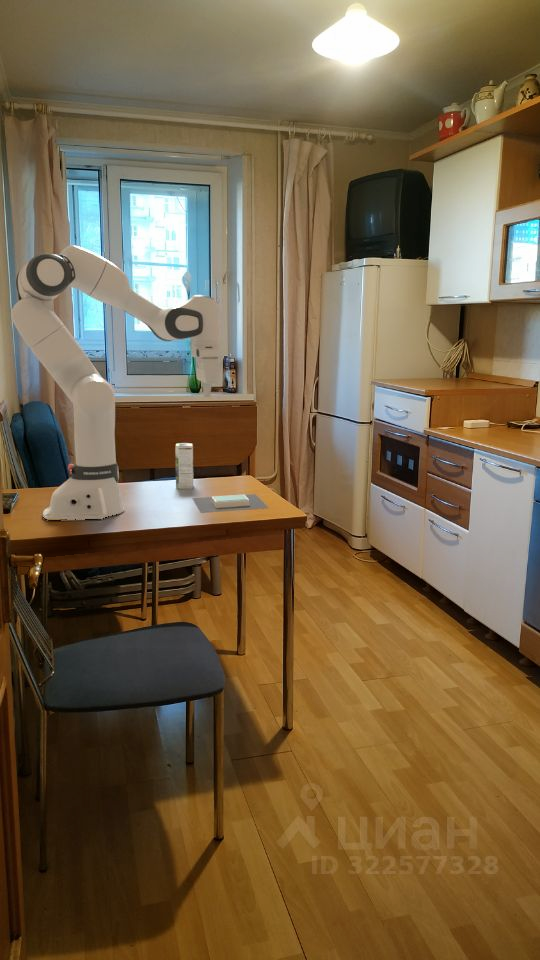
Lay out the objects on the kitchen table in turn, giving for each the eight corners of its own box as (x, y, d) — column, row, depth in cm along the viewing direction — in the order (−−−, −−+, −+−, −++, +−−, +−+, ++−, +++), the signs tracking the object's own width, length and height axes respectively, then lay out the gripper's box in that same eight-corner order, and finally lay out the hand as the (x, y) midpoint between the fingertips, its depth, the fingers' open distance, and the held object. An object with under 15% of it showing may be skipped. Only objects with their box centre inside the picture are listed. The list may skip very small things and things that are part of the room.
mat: (200, 513, 194) (200, 512, 194) (192, 499, 211) (192, 498, 211) (269, 509, 199) (269, 507, 199) (255, 495, 216) (255, 494, 216)
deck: (211, 502, 206) (215, 508, 199) (211, 496, 205) (215, 501, 198) (244, 500, 208) (249, 505, 201) (244, 494, 207) (249, 499, 201)
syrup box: (176, 485, 231) (174, 443, 228) (194, 485, 231) (192, 442, 228) (176, 489, 225) (174, 445, 222) (194, 488, 226) (192, 445, 223)
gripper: (190, 350, 216) (192, 394, 219) (200, 351, 197) (201, 400, 199) (210, 350, 217) (211, 393, 220) (221, 351, 198) (223, 399, 201)
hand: (207, 396), depth 210 cm, fingers closed
